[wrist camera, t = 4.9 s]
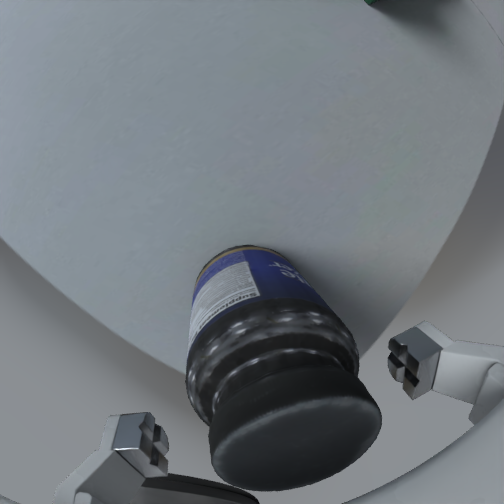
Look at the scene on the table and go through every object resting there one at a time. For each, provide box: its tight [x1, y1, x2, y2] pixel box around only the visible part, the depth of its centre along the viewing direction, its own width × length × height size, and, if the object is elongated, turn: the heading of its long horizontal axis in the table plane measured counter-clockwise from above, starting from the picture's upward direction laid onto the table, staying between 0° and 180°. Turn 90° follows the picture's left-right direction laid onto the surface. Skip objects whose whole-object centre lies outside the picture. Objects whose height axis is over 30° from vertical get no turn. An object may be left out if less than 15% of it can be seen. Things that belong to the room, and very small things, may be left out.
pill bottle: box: [185, 245, 382, 491], centre depth 11 cm, size 6×6×11 cm
